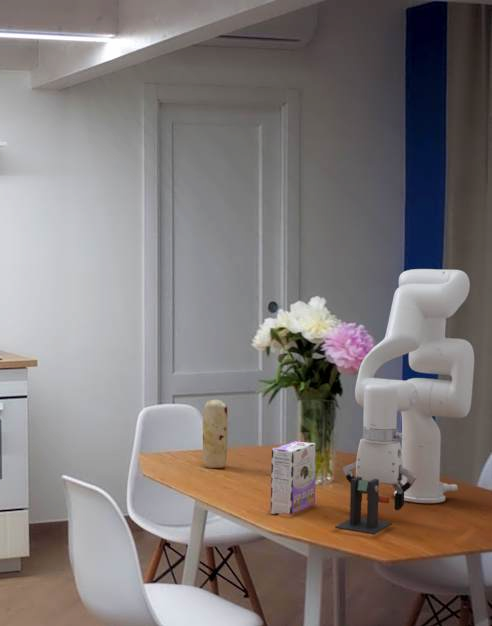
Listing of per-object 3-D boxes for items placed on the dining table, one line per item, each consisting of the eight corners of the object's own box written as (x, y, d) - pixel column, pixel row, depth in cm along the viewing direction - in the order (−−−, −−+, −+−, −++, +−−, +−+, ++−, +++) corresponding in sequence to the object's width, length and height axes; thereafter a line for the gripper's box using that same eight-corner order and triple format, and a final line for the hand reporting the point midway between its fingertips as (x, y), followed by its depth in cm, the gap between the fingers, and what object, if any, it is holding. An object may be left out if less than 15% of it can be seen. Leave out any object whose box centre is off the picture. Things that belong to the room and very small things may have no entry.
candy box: (293, 503, 272) (295, 440, 271) (315, 507, 268) (317, 442, 267) (269, 514, 261) (270, 447, 260) (291, 517, 258) (293, 450, 257)
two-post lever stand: (354, 521, 254) (355, 472, 254) (391, 527, 249) (393, 477, 248) (334, 531, 245) (336, 481, 244) (373, 538, 240) (374, 486, 239)
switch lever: (367, 503, 255) (369, 493, 256) (388, 506, 252) (390, 496, 253) (351, 488, 247) (353, 478, 247) (372, 491, 244) (374, 481, 244)
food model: (232, 469, 316) (233, 402, 314) (213, 470, 313) (214, 403, 312) (215, 462, 325) (216, 397, 324) (196, 464, 322) (197, 398, 321)
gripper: (421, 436, 251) (419, 508, 252) (350, 429, 261) (348, 497, 262) (411, 441, 245) (409, 514, 246) (338, 433, 255) (336, 503, 256)
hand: (377, 506), depth 254 cm, fingers open, 9 cm apart
